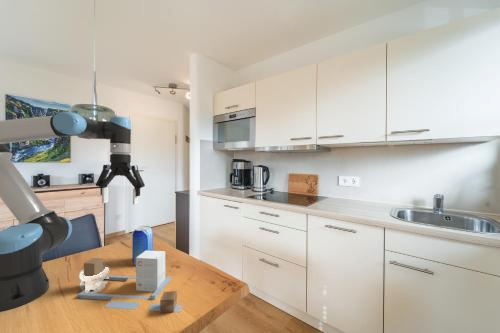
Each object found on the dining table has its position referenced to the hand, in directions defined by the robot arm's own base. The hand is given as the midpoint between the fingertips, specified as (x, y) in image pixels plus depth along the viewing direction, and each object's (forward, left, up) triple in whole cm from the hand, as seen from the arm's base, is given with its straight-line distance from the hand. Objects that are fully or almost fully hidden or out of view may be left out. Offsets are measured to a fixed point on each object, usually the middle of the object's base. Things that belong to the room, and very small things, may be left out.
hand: (120, 203), depth 89 cm
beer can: (+6, +7, -29) cm, 30 cm away
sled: (+12, -13, -29) cm, 34 cm away
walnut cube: (+32, -23, -28) cm, 48 cm away
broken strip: (+24, -23, -29) cm, 44 cm away
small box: (+20, -12, -29) cm, 37 cm away
